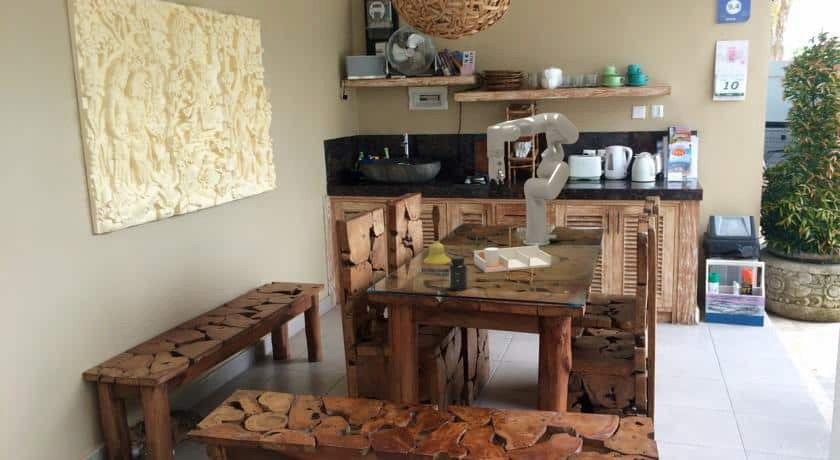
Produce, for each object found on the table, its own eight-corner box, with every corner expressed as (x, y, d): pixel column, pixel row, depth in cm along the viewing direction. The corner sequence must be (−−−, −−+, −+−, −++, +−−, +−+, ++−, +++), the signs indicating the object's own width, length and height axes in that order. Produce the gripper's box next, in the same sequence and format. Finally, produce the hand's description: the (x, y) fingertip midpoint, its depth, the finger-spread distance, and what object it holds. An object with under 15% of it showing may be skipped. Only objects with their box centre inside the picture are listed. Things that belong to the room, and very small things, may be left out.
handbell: (430, 265, 308) (428, 208, 303) (418, 260, 319) (416, 204, 314) (456, 262, 313) (454, 205, 308) (443, 256, 324) (441, 202, 319)
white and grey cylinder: (482, 266, 298) (481, 250, 297) (486, 262, 304) (486, 246, 303) (498, 267, 295) (497, 250, 294) (502, 263, 302) (502, 247, 300)
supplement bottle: (447, 290, 269) (446, 259, 267) (452, 285, 275) (452, 255, 273) (464, 291, 266) (463, 260, 264) (469, 286, 273) (469, 256, 270)
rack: (537, 258, 313) (537, 245, 312) (551, 266, 299) (551, 252, 298) (474, 264, 307) (473, 250, 306) (484, 272, 293) (484, 258, 292)
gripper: (510, 154, 312) (510, 193, 315) (497, 151, 328) (498, 188, 332) (494, 155, 310) (494, 194, 313) (481, 152, 327) (482, 189, 330)
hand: (496, 191), depth 322 cm, fingers open, 9 cm apart
